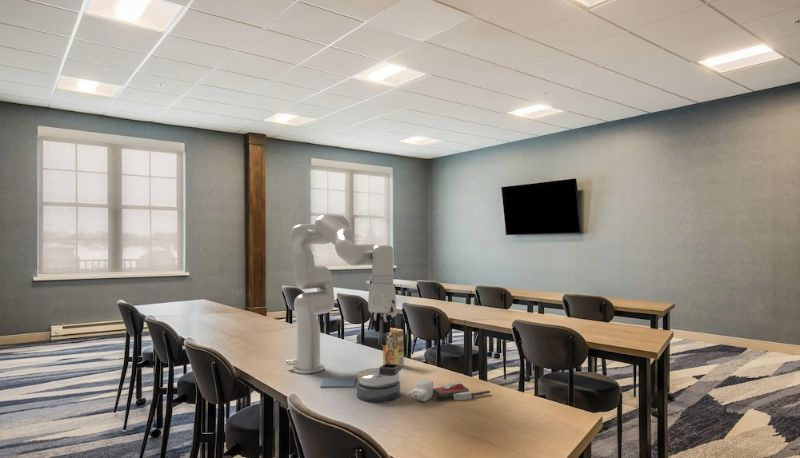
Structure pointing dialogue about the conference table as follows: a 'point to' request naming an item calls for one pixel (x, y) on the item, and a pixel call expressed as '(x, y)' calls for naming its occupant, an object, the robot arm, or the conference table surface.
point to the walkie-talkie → (454, 392)
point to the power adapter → (423, 390)
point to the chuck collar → (380, 377)
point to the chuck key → (382, 336)
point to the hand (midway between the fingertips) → (382, 331)
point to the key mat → (337, 382)
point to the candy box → (394, 347)
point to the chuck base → (378, 394)
